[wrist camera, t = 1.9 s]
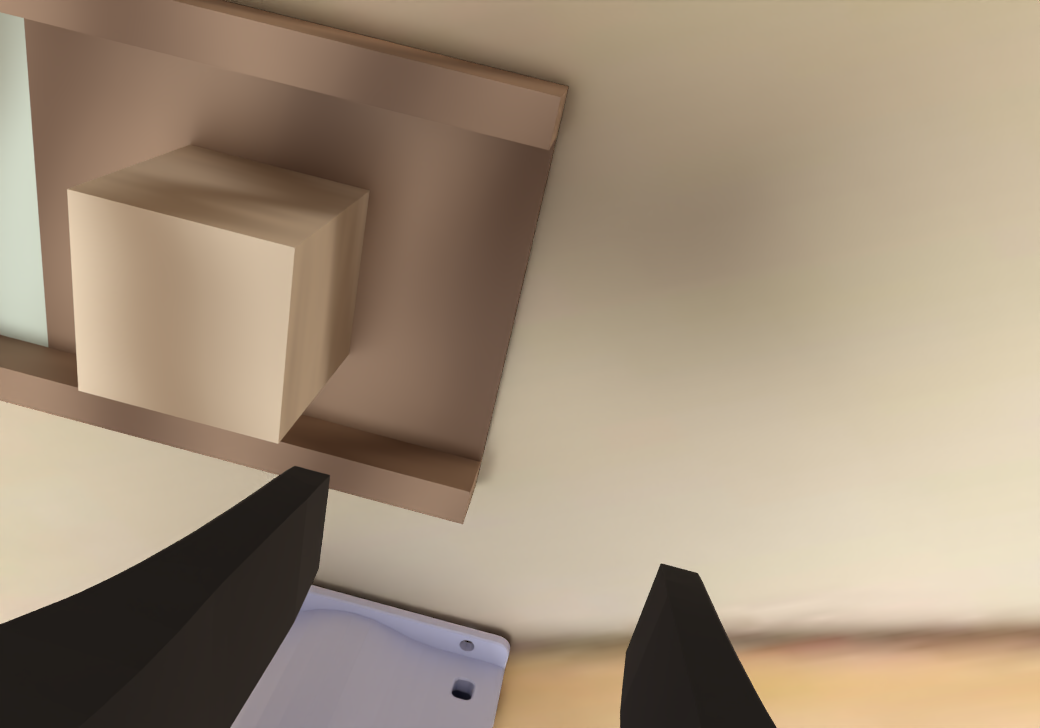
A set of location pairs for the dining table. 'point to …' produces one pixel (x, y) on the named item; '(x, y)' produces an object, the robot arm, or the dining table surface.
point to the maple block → (214, 287)
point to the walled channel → (305, 149)
